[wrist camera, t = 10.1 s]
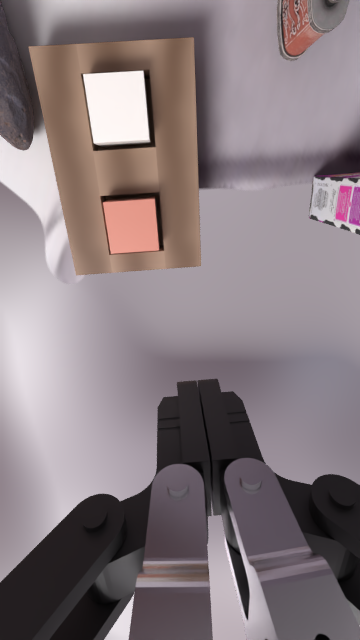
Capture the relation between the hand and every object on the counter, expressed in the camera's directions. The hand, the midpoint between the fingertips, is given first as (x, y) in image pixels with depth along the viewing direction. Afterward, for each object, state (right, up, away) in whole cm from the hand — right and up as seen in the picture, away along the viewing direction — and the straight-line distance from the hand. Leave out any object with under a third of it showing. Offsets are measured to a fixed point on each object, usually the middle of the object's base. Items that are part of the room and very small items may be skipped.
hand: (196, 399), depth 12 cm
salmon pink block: (-6, +14, +23) cm, 28 cm away
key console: (-6, +19, +23) cm, 30 cm away
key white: (-6, +23, +19) cm, 30 cm away
